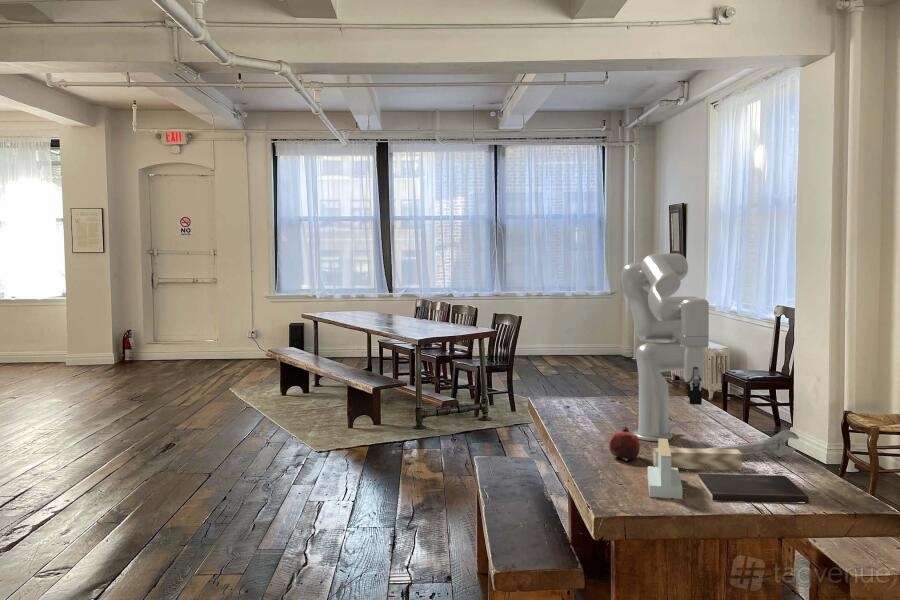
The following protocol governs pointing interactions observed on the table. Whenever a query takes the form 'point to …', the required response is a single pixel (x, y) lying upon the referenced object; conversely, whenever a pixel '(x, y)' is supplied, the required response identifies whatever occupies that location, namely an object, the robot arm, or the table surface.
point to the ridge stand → (664, 475)
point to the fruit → (624, 445)
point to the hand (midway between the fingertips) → (694, 400)
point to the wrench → (766, 445)
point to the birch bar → (703, 458)
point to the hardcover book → (752, 488)
